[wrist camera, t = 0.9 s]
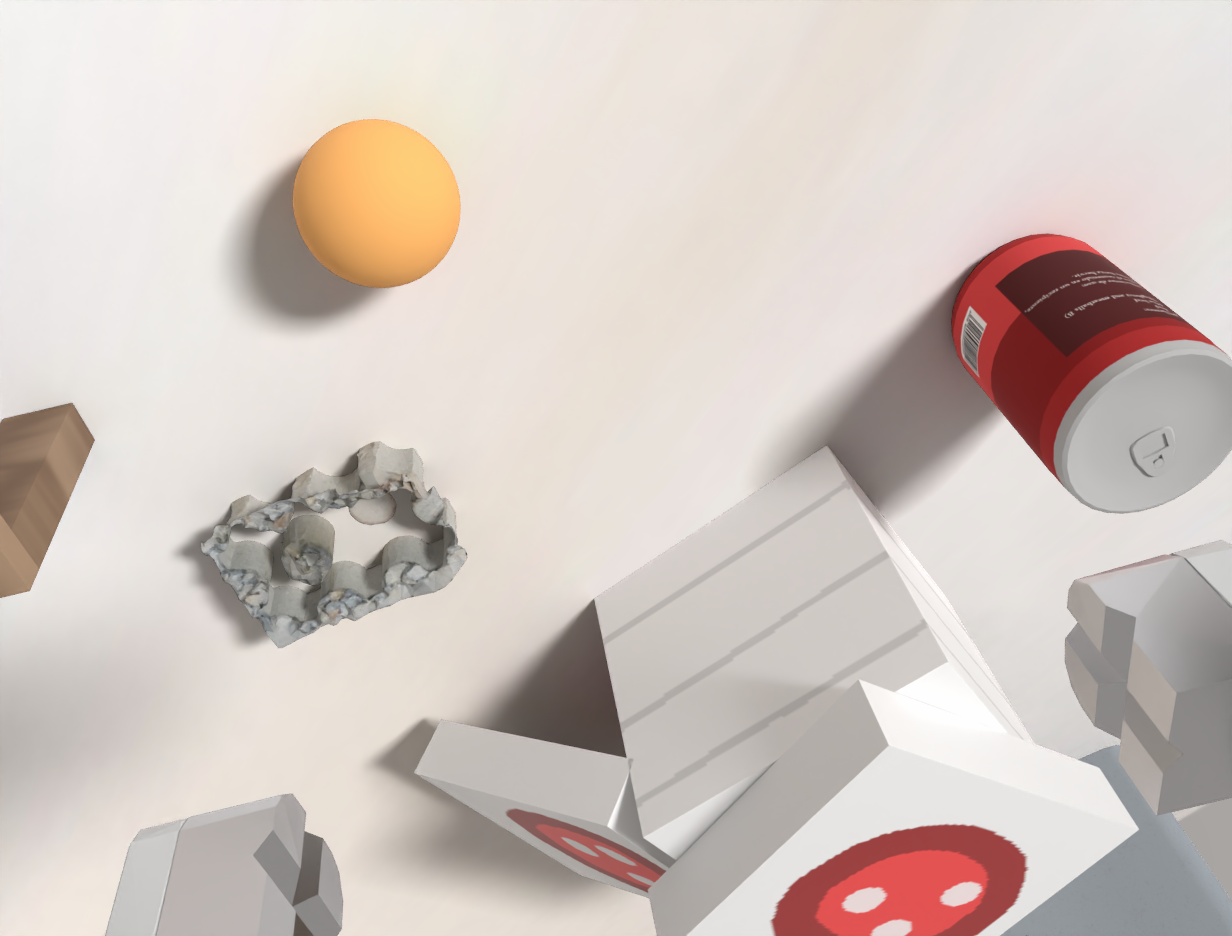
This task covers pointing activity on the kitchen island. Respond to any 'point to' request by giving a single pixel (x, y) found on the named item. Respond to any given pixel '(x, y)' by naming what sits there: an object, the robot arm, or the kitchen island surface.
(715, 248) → the kitchen island surface
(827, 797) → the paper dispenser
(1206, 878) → the flask
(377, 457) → the egg carton
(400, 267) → the ball
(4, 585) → the bridge
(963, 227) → the kitchen island surface
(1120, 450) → the canned food
